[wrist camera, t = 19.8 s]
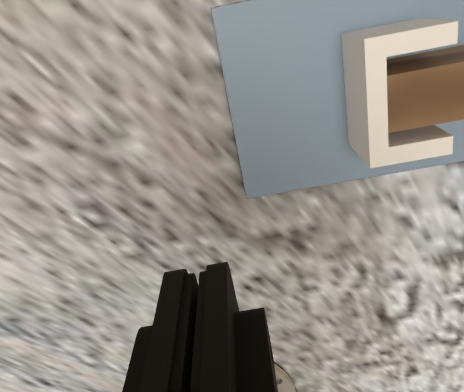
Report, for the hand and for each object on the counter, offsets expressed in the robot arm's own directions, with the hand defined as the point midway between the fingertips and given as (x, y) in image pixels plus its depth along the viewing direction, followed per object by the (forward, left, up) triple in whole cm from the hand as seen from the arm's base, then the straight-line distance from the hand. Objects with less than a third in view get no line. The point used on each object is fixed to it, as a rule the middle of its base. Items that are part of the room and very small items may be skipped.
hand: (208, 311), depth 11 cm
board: (0, -14, -22) cm, 26 cm away
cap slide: (0, -12, -21) cm, 24 cm away
